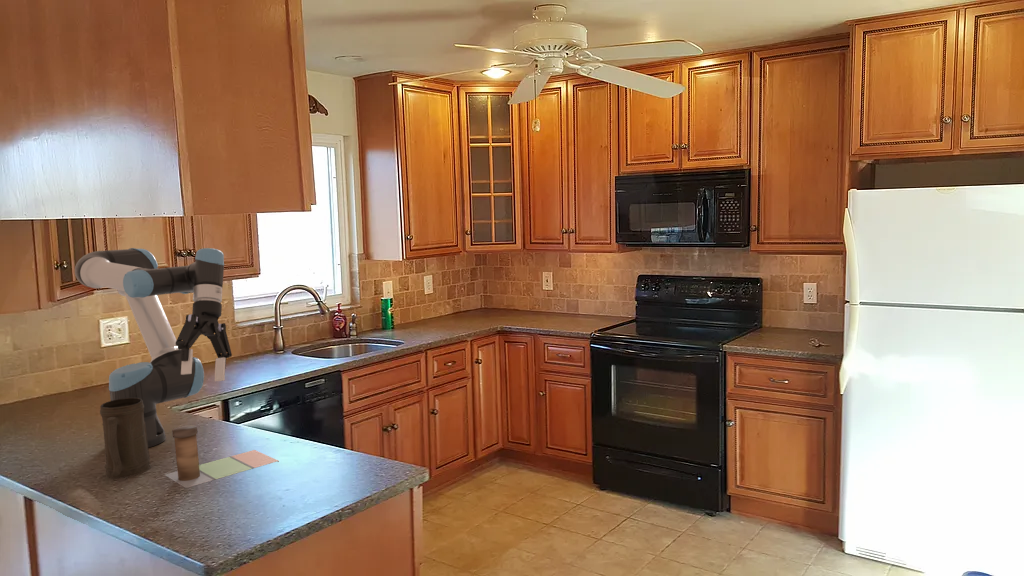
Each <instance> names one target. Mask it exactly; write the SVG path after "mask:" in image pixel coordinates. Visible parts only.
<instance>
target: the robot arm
mask: <svg viewBox="0 0 1024 576" xmlns="http://www.w3.org/2000/svg"><path fill="white" fill-rule="evenodd" d="M194 259H195V261H194V262H192V263H190V264H188V265H181V266H171V267H162V268H161V267H160V268H159V265H158V261H157V260H156V257H155V256H154V254H153V253H152V252H150V251H149V250H147V249H145V248H135V247H130V248H128V249H112V250H97V251H95V250H94V251H91V252H89V253H87V254H84V255H83V256H82V257H81V258H79V259H78V261H76V263H75V267H74V275H75V278H76V280H77V281H78V283H80V284H81V285H83V286H84V287H87V288H93V289H102V288H108V289H113V290H117V292H118V294H119V295H120V296H122V297H125V298H126V300H127V303H128V305H129V307H130V310H131V312H132V315H133V318H134V320H135V322H136V324H137V326H138V327H137V328H138V330H139V331H140V334H141V336H142V338H143V341H144V344H145V346H146V347H147V350H148V353H149V355H150V357H151V360H150V361H141V362H136V363H135V362H134V363H131V364H127V365H123V366H120V367H119V368H115V369H114V370H113V371H112V372H110V373H109V375H108V376H109V377H108V390H109V398H110V401H113V400H117V399H124V398H140V399H142V401H143V404H144V421H145V425H146V434H147V443H148V448H151V447H155V446H157V445H160V444H162V443H163V442H165V441H166V439H167V438H166V431H165V429H164V426H163V424H162V423H161V420H160V418H159V416H158V414H157V404H162V403H167V402H170V401H175V400H178V399H179V400H180V399H187V398H188V397H191V396H194V395H196V394H198V393H199V392H200V391H201V390H202V388H203V385H204V379H205V370H204V367H203V364H202V362H201V360H200V359H199V358H198V357H193V354H194V353H193V352H194V349H193V348H192V347H193V345H194V344H195V342H197V340H198V339H199V337H200V336H201V335H203V336H204V337H207V339H208V340H210V342H211V345H212V347H213V350H214V352H215V354H216V356H217V357H216V358H215V364H214V365H215V366H214V367H215V368H214V382H215V383H216V382H223V381H225V378H226V377H225V375H226V369H227V368H226V367H227V358H228V359H229V358H231V357H232V356H233V353H232V350H231V345H230V342H229V339H228V338H229V337H228V334H227V325H226V323H224V322H223V323H219V318H220V317H222V312H223V311H222V307H223V304H222V301H223V285H224V284H223V283H224V272H225V271H224V270H225V263H224V262H225V254H224V253H223V251H222V250H220V249H218V248H213V247H212V248H210V247H205V248H199V249H198V250H197V251H196V254H195V258H194ZM191 293H193V295H192V301H193V302H192V311H191V312H192V313H191V314H186V316H185V320H184V324H183V326H182V328H181V330H180V332H179V335H178V336H177V337H176V336H175V333H174V331H173V329H172V326H171V324H170V321H169V320H168V317H167V315H166V312H165V310H164V308H163V305H162V303H161V300H160V299H159V296H160V295H169V294H182V295H188V294H191Z"/></svg>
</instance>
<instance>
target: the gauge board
mask: <svg viewBox="0 0 1024 576" xmlns="http://www.w3.org/2000/svg"><path fill="white" fill-rule="evenodd" d="M276 462H277V463H279V462H280V460H278V459H276V458H275V457H271V456H270V455H267V454H265V453H262V452H260V451H258V450H256V449H252V450H249V451H245V452H242V453H239V454H238V453H237V454H234V455H231V456H228V457H224V458H220V459H217V460H212V461H210V462H206V463H201V464H199V470H200V476H199V477H198V478H196V479H193V480H188V481H180V480H178V471H177V470H175V471H173V472H169V473H165V474H164V476H165V477H167V478H168V479H170V480H172V481H174V482H175V483H176V484H179V485H180V486H181V487H183V488H184V489H188V488H191V487H195V486H198V485H201V484H205V483H209V482H211V481H215V480H218V479H222V478H225V477H228V476H232V475H233V476H234V475H235V474H240V473H242V472H245V471H249V470H253V469H256V468H259V467H262V466H266V465H270V464H273V463H276Z"/></svg>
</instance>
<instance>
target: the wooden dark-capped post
mask: <svg viewBox="0 0 1024 576" xmlns="http://www.w3.org/2000/svg"><path fill="white" fill-rule="evenodd" d="M197 426H198V425H194V424H190V425H189V424H188V425H181V426H177V427H175V428H173V429H172V431H171V432H172V437H173V439H174V447H175V458H176V469H177V470H176V471H178V480H180V481H188V480H193V479H196V478H198V477H199V476H200V470H199V465H200V461H199V460H200V459H199V451H198V450H199V449H198V439H197V434H198V427H197Z"/></svg>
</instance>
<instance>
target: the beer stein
mask: <svg viewBox="0 0 1024 576" xmlns="http://www.w3.org/2000/svg"><path fill="white" fill-rule="evenodd" d="M99 415H100V416H101V420H102V428H103V438H104V439H103V440H104V453H105V455H104V457H105V464H104V469H105V477H106V478H111V479H121V478H129V477H134V476H137V475H140V474H143V473H145V472H147V471H149V470H150V469H151V461H150V460H151V458H150V451H149V447H148V443H147V434H146V425H145V421H144V404H143V401H142V399H140V398H124V399H117V400H113V401H111V400H109V401H106V402H104V403H102V404H101V405H100V408H99Z"/></svg>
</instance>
